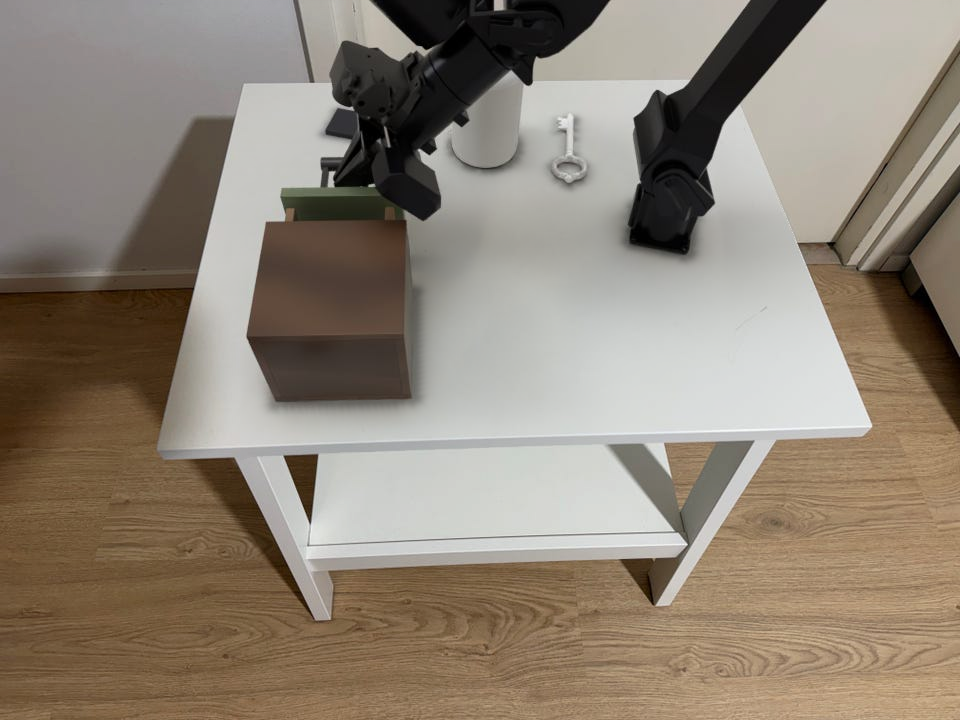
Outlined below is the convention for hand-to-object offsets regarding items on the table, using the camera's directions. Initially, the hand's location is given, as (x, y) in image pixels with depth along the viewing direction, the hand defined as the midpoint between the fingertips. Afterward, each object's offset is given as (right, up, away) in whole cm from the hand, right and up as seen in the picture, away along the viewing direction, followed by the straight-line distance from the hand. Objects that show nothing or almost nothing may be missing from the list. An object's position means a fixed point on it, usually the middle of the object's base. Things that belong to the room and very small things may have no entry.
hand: (336, 184), depth 69 cm
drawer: (+1, -8, +4) cm, 9 cm away
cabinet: (+1, -16, 0) cm, 16 cm away
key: (+25, +8, +16) cm, 30 cm away
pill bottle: (+15, +8, +16) cm, 23 cm away
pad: (-2, +12, +17) cm, 21 cm away
